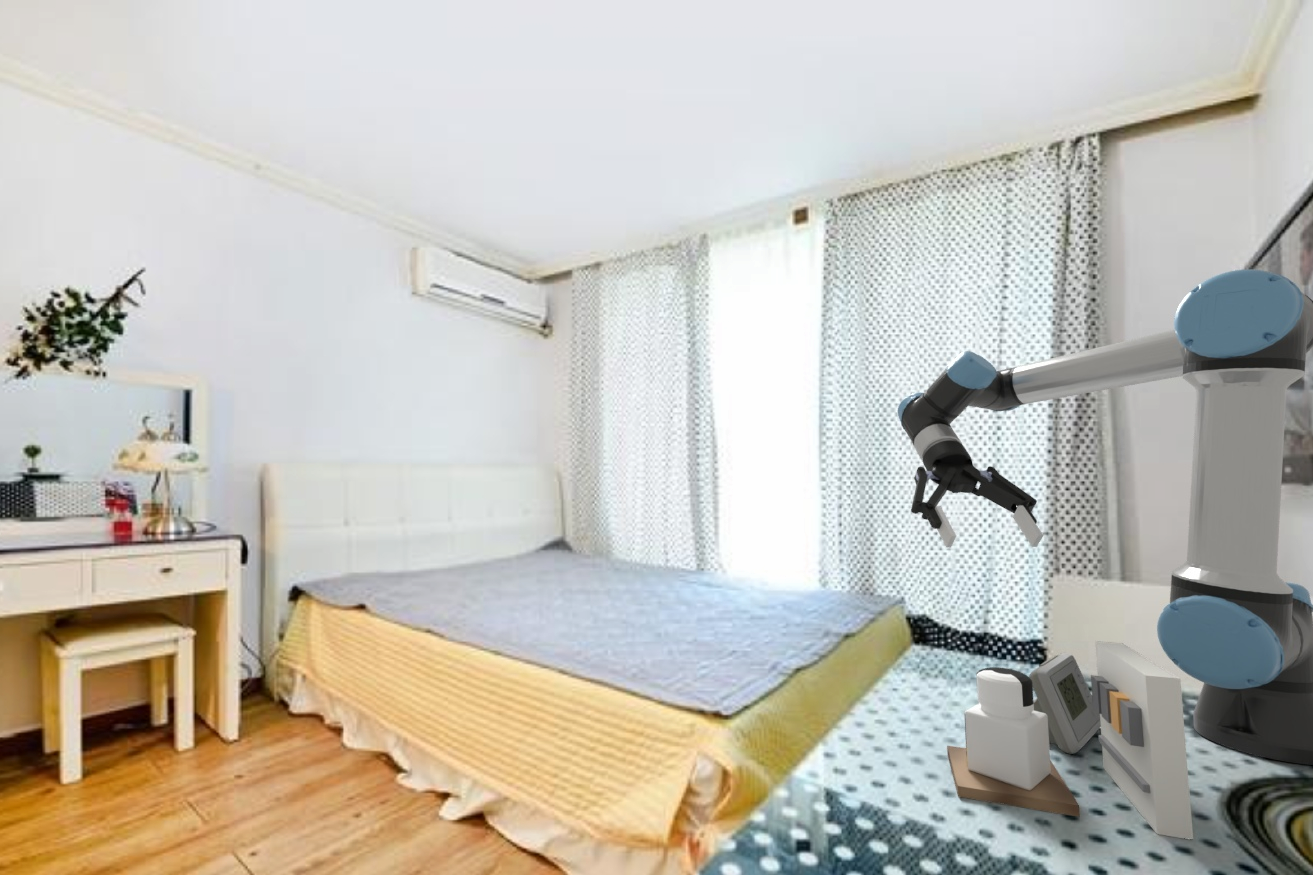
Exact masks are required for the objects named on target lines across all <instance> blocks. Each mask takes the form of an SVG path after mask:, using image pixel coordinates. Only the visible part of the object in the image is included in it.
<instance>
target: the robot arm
mask: <svg viewBox="0 0 1313 875" xmlns="http://www.w3.org/2000/svg"><path fill="white" fill-rule="evenodd" d="M1173 319H1174V320H1173V327H1174V329H1172V330H1171V329H1170V330H1167V331H1162V332H1159V333H1155V334H1149V335H1145V336H1142V337H1137V338H1134V339H1129V340H1125V341H1121V342H1117V343H1110V344H1107V345H1103V346H1099V347H1095V348H1090V349H1086V350H1082V351H1077V352H1074V353H1068V354H1065V355H1059V356H1057V357H1052V358H1048V359H1044V360H1043V359H1042V360H1039V361H1035V362H1030V363H1027V364H1022V365H1018V366H1015V367H1010V368H1005V369H1000V370H997V368H996V367H995V366H994V365H993V364H992V363H991V362H989V360H987V359H986V358H984V357H983V356H981V355H979V354H976V353H975V352H973V351H969V350H966V351H965V350H964V351H962V352H961V353H960V354H958V356H956V357H955V359H954V360H952V361H951V362H950V363H949V364H947V366H946V368H944V370H943V371H942V372H941V373H940V374H939V376H938V377H936V379H935V380H934V382H932V384H931V385H930V386H929V387H928V388H927V389H926V391H925V392H915V393H911V394H910V395H909V396H906V397H903V399H902V400H901V401H900V403H899V404H898V407H897V417H898V419H899V421H900V424H901V427H902V428H903V430H904V431H905V432H906V434H907V436H908V438H909V440H910V441H911V443H912V445H913V447H914V448H915V451H916V453H917V455H918V457H919V458H920V460H921V462H922V464H923V466H924V467H923V466H918V467H917V469H916V471H915V475H914V478H913V479H914V483H915V485H916V486H915V490H914V493H913V494H914V495H913V499H912V502H911V503H912V505H911V507H910V508H911V509H910V512H911V513H912V514H915V515H916V514H918V513H920V514H922V515H921V518H922V519H923V520H925V521H926V520H927V521H928V523H929V525H930V526H931V528H932V529H933V530H936V529H937V531H938V534H939V536H940V538H941V539H942V541H943V544H944V545H945V548H952V546H953V544H954V542H955V540H956V537H957V534H956V533H955V530H954V528H953V527H952V525H951V522H950V521H949V519H948V518H947V515H946V514H945V512H944V510H943V508H942V507H941V505H939V504H940V501H941V500H942V499H943V497H944V496H945V495H946V493H947V491H948V492H951V493H952V494H958V493H964V494H972V495H975V496H976V497H982V498H985V499H986V500H989V501H990V502H992V503H993V504H996V505H997V506H999V507H1000V508H1003V509H1005V510H1007V511H1009V512H1011V513H1013V515H1012V519H1013V520H1014V522H1015V523H1016V524H1017V526H1018V527H1019V529H1020V531H1021V533H1022V534H1023V536H1024V537H1025V538H1026V540H1027V542H1028V543H1029V544H1030V546H1031V547H1032V548H1035V547H1036V548H1037V547H1038V545H1039V544H1040V542H1041V541H1042V539H1043V537H1044V536H1045V535H1044V534H1043V532H1042V531H1041V529H1040V527H1038V525H1037V523H1038V520H1037V518H1036V517H1035V515H1034V514H1033V513H1032V511H1033V510H1034V508H1035V507H1036V504H1037V502H1038V500H1037V499H1036V498H1034V497H1033V496H1031V495H1030V494H1029V493H1027V492H1025V490H1023V489H1021V488H1020V487H1018V486H1017V485H1016V484H1014V483H1013V482H1011V481H1010V480H1008V479H1007V478H1006V477H1005V476H1003V475H1001V473H999V472H998V470H997V469H996V468H995V467H993V466H990V465H989V466H987V467H986V469H985V470H979V469H978V468H976V467H975V466H974V464H973V459H972V457H971V455H970V453H969V452H968V451H967V449H966V447H965V446H964V445H963V442H962V441H961V440H960V437H959V436H958V435H957V434H956V432H955V430H954V429H953V428H952V425H951V423H953V422H954V421H955V419H956V418H958V417H959V416H960V415H961V414H962V413H963V412H964V411H965V410H966V409H967V408H968V407H972V408H973V407H974V408H980V409H986V410H990V411H993V412H1009V411H1013V410H1015V409H1017V408H1019V407H1020V406H1023V405H1028V404H1032V403H1033V404H1034V403H1039V402H1044V401H1049V400H1056V399H1062V398H1067V397H1073V396H1078V395H1084V394H1089V393H1095V392H1101V391H1107V390H1111V389H1118V388H1122V387H1128V386H1133V385H1134V386H1135V385H1140V384H1146V383H1150V382H1157V381H1162V380H1167V379H1173V378H1174V379H1175V378H1178V377H1182V379H1183V380H1185V382H1186V383H1187V382H1188V384H1190V385H1191V386H1192V387H1194V389H1195V390H1196V391H1195V392H1196V393H1195V413H1194V427H1193V444H1192V445H1193V446H1192V447H1193V448H1192V462H1191V463H1192V466H1191V485H1190V499H1189V500H1190V501H1189V516H1188V517H1189V518H1188V519H1189V520H1188V532H1187V533H1188V535H1187V556H1186V561H1185V562H1184V563H1183V564H1182V565H1180V566H1179V567H1177V568H1175V569H1173V570H1172V571H1171V581H1170V591H1169V593H1170V594H1169V604H1167V605H1166V606H1165V607H1164V608H1163V610H1162V612H1161V613H1160V615H1159V617H1158V619H1157V620H1158V621H1157V625H1156V632H1157V633H1156V634H1157V637H1158V642H1159V645H1160V646H1161V648H1162V651H1163V652H1164V653H1165V655H1166V657H1168V658H1169V660H1170V661H1172V663H1173V664H1174V665H1176V667H1177V668H1179V669H1180V670H1181V671H1183V673H1185V674H1187V675H1188V676H1190V677H1192V678H1193V679H1196V680H1197V681H1199V682H1202V683H1203V685H1202V688H1201V691H1200V693H1199V695H1198V699H1197V702H1196V705H1195V707H1194V710H1193V714H1192V715H1193V716H1192V717H1193V728H1194V730H1195V731H1196V733H1198V734H1199V735H1200V736H1202V737H1203V738H1206V739H1208V740H1210V741H1211V742H1213V743H1216V744H1218V745H1221V746H1224V747H1226V748H1229V749H1234V750H1236V751H1238V752H1242V753H1247V754H1250V755H1252V756H1253V755H1254V756H1258V757H1262V758H1267V759H1271V760H1275V761H1280V762H1281V761H1282V762H1286V763H1292V764H1302V765H1310V766H1313V604H1312V600H1311V596H1310V592H1309V589H1307V588H1306V587H1305V586H1303V585H1300V584H1299V583H1293V582H1288V581H1287V582H1285V581H1284V580H1283V579H1282V578H1281V577H1280V576H1279V575H1278V573H1277V570H1278V554H1279V553H1278V552H1279V537H1280V536H1279V534H1280V516H1281V496H1282V495H1281V494H1282V479H1283V478H1282V477H1283V461H1284V445H1285V442H1284V440H1285V425H1286V424H1285V422H1286V405H1287V404H1286V403H1287V389H1288V388H1289V387H1290V386H1291V385H1292V384H1294V383H1295V382H1297V381H1298V380H1299V379H1301V378H1302V377H1304V376H1305V375H1306V361H1307V360H1306V358H1307V353H1308V352H1309V351H1311V350H1312V349H1313V299H1311V297H1309V296H1308V295H1306V294H1305V293H1303V292H1302V291H1301V290H1300V288H1299V287H1298V286H1297V284H1296V283H1294V281H1292V280H1291V279H1289V278H1287V277H1285V276H1283V275H1281V274H1277V273H1274V272H1270V271H1266V270H1263V269H1262V270H1261V269H1254V268H1253V269H1250V268H1249V269H1246V268H1245V269H1235V270H1231V271H1227V272H1226V271H1225V272H1223V273H1220V274H1217V275H1214V276H1212V277H1210V278H1208V279H1205V280H1204V281H1202V282H1201V283H1199V284H1198V285H1196V286H1195V287H1194V288H1193V289H1192V290H1191V291H1189V292H1188V293H1187V294H1185V296H1184V297H1183V299H1182V300H1181V301H1180V303H1179V304H1178V307H1177V309H1176V311H1175V314H1174V318H1173ZM929 480H931V481H932V482H933V483H935V484H936V485H937V487H935V488H936V489H934V491H933V493H932V495H931V496H930V497H929V499H928V500H927V502H926V501H925V502H924V496H925V491H926V486H927V483H928V482H929ZM978 483H979V486H978V487H977V485H978ZM976 487H977V488H976Z"/></svg>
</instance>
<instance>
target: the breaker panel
mask: <svg viewBox="0 0 1313 875" xmlns="http://www.w3.org/2000/svg"><path fill="white" fill-rule="evenodd" d="M1094 642H1095V643H1094V647H1095V659H1096V661H1095V662H1096V673H1097V674H1096V675H1092V674H1091V675H1090V684H1091V695H1092V701H1093V708H1094V709H1095V710H1096V711H1097V712H1098V713H1099V714H1100V722H1101V727H1100V731H1101V732H1100V734H1098V736H1097V737H1098V742H1099V743H1100V744H1101V748H1102V749H1101V750H1102V764H1103V769H1104V771H1105V772H1106V773H1107V774H1108V775H1109V777H1110V778H1111V779H1112V781H1114V782H1113V783H1115V785H1117V787H1118V788H1119V789H1120V790H1121V792H1122V793H1123V794H1124V796H1125V797H1126V798H1127V799H1128V800H1129V802H1130V803H1131V804H1132V805H1133V807H1135V809H1136V810H1137V811H1138V812H1139V813H1140V815H1141V816H1142V817H1143V819H1144V820H1145V821H1146V822H1147V823H1148V825H1149V826H1150V827H1151V828H1152V830H1153V831H1154V832H1155V834H1156V835H1160V836H1167V837H1172V838H1179V839H1184V838H1185V840H1190V839H1193V840H1194V834H1193V832H1194V831H1193V822H1192V807H1191V805H1192V804H1191V794H1190V783H1189V771H1188V770H1189V769H1188V758H1187V755H1188V754H1187V744H1186V732H1185V731H1186V730H1185V719H1184V707H1183V706H1184V705H1183V694H1182V683H1181V682H1182V680H1181V677H1178V675H1176V674H1174V673H1172V672H1171V671H1169V670H1167V669H1165V668H1164V667H1162V666H1161V665H1159V664H1157V663H1156V662H1155V661H1152V660H1151V659H1150V658H1147V657H1146V656H1145V655H1142V654H1141V653H1140V652H1138V651H1136V650H1135V649H1133V648H1131V647H1129V646H1128V645H1127V644H1125V643H1123V642H1113V641H1111V642H1110V641H1097V640H1095V641H1094ZM1187 838H1189V839H1187Z"/></svg>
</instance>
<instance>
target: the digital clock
mask: <svg viewBox="0 0 1313 875" xmlns="http://www.w3.org/2000/svg"><path fill="white" fill-rule="evenodd" d="M1028 677H1029V678H1030V679H1031V680H1032V685H1033V692H1034V693H1035V696H1036V698H1035V699H1033V703H1034V711H1038V712H1042V713H1045V714H1047V716H1048V732H1049V744H1050V743H1051V744H1055V745H1057V747H1058V748H1059V750H1061V751H1062V752H1064V753H1066V754H1071V755H1072V754H1073V755H1075V754H1076V753H1077V752H1079V751H1080V750H1081V749H1082V748H1084V747H1085V745H1086V744H1087V743H1088V742H1089V740H1091V738H1092V737H1093V736H1094V735H1095V734H1096V733H1097V732H1098V731H1099V729H1101V722H1100V714H1099V713H1098V712H1097V711H1096V710H1095V709H1094V708H1093V701H1092V692H1091V691H1090V689H1089V688H1090V687H1089V686H1088V684H1087V682H1086V679H1085V677H1084V676H1083V673H1082V671H1081V669H1080V667H1079V664H1078V663H1077V660H1076V659H1075V657H1074V656H1073V654H1070V653H1067V652H1061V653H1059V654H1056V655H1053V656H1052V657H1051V658H1048V659H1047V660H1046V661H1044V662H1042V663H1041V664H1039V665H1038V667H1037V668H1035V669H1033V670H1032V671H1031V672H1030V673H1029V674H1028Z"/></svg>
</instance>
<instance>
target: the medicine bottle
mask: <svg viewBox="0 0 1313 875" xmlns="http://www.w3.org/2000/svg"><path fill="white" fill-rule="evenodd" d="M975 675H976V690H977V691H976V692H977V697H976V698H977V702H978V704H975V705H974V706H972V707H970V708H968V709H966V710H965V711H964V730H965V731H964V732H965V733H964V734H965V748H966V757H967V768H968V769H969V770H970V771H973V772H976V773H979V774H982V775H985V776H988V777H990V778H993V779H996V780H999V781H1002V782H1005V783H1008V784H1011V785H1014V786H1017V787H1020V788H1022V789H1025V790H1029V791H1030V790H1032V789H1033V788H1034V787H1035V786H1036V785H1037V784H1038V783H1040V782H1041V781H1042V780H1043V779H1044V778H1045V777H1046V776H1048V775H1049V774H1050V773H1051V766H1050V760H1051V750H1050V742H1049V732H1048V716H1047V714H1045V713H1042V712H1038V711H1034V703H1033V701H1034V689H1033V685H1032V680H1031V679H1030V678H1029V675H1026V674H1025V673H1023V672H1021V671H1018V670H1015V669H1011V668H1006V667H994V666H993V667H986V668H982V669H979V670H978V671H977V672H976V674H975Z"/></svg>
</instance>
